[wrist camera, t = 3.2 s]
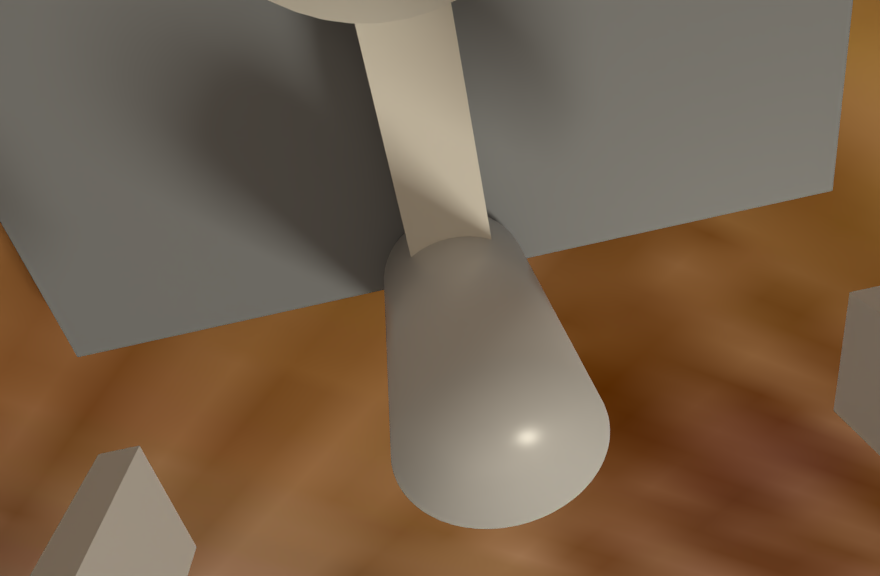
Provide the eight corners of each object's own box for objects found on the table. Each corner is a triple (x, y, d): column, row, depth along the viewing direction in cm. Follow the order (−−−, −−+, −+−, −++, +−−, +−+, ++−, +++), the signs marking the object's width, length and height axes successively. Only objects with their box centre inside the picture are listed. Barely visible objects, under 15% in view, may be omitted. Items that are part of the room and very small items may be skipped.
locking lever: (62, -447, 10) (-386, -1047, 4) (526, -551, 10) (752, -1304, 4) (335, 366, 18) (317, 569, 12) (599, 308, 18) (716, 481, 12)
